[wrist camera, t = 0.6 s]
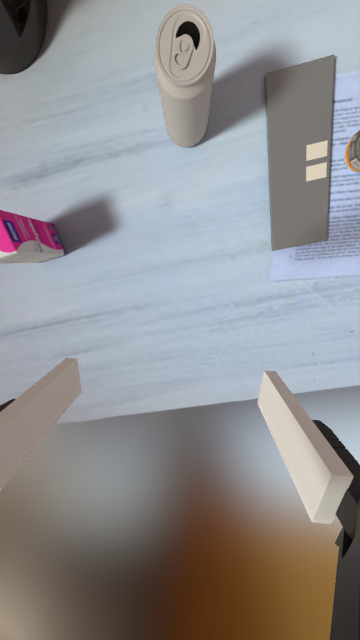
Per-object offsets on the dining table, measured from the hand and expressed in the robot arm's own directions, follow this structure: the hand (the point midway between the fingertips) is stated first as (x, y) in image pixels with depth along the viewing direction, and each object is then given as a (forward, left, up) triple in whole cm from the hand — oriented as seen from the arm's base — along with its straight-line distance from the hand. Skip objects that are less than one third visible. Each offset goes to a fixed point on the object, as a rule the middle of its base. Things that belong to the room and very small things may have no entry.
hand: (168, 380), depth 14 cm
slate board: (-18, +22, -26) cm, 39 cm away
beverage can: (-27, +6, -27) cm, 39 cm away
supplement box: (-15, -23, -27) cm, 39 cm away
